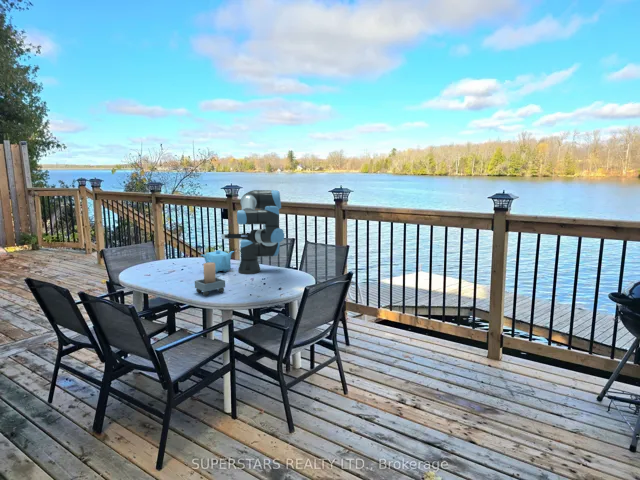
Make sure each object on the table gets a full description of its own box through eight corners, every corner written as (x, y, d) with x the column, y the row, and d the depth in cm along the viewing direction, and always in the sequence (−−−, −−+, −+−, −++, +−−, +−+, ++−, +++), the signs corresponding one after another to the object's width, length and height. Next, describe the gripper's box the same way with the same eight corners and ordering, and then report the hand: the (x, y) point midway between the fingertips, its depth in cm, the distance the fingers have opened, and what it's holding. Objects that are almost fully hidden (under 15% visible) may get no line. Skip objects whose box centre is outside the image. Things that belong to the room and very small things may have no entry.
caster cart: (215, 288, 235) (215, 276, 234) (225, 292, 227) (225, 280, 226) (195, 292, 226) (194, 280, 224) (204, 297, 218) (204, 284, 217)
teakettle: (211, 267, 288) (210, 247, 285) (236, 268, 285) (235, 248, 283) (200, 273, 269) (199, 252, 267) (226, 275, 267) (226, 253, 264)
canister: (212, 282, 230) (211, 261, 228) (217, 284, 225) (217, 263, 224) (202, 284, 225) (201, 263, 224) (207, 286, 221) (207, 265, 219)
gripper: (242, 242, 206) (214, 243, 217) (273, 243, 226) (246, 244, 238) (242, 227, 206) (214, 229, 217) (273, 230, 227) (246, 231, 238)
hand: (231, 237), depth 228 cm, fingers open, 13 cm apart
